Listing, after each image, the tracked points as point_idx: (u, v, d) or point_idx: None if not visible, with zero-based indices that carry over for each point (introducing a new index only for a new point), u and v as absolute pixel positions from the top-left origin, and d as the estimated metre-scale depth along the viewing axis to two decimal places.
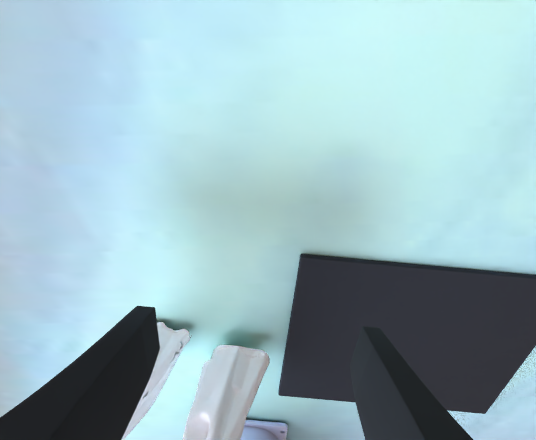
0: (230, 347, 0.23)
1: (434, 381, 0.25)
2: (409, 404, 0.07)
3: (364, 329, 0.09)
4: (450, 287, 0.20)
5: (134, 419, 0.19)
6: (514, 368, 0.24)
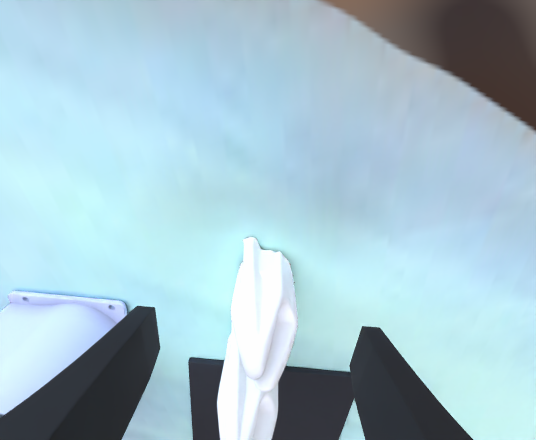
0: None
1: None
2: (409, 404, 0.07)
3: (364, 329, 0.09)
4: None
5: None
6: None
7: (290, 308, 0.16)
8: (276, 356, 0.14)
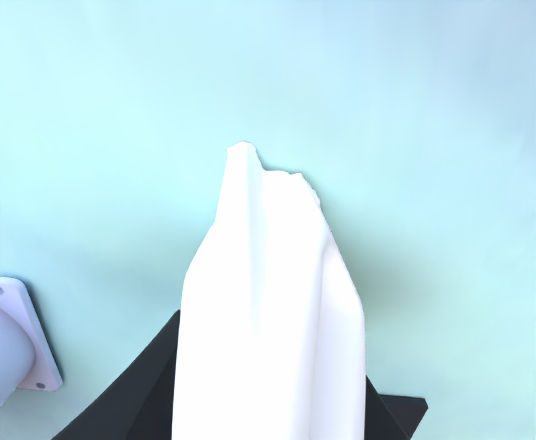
0: None
1: None
2: None
3: None
4: None
5: None
6: None
7: (343, 268, 0.06)
8: (325, 425, 0.04)
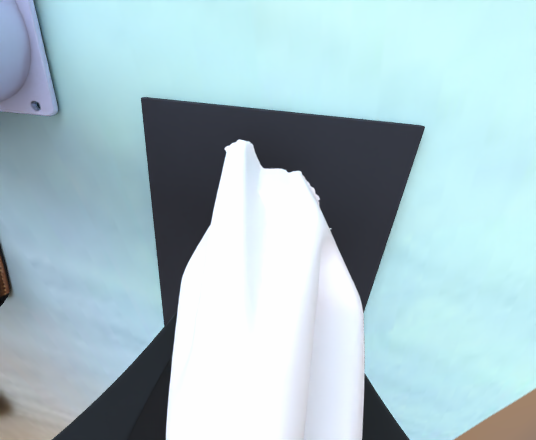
0: None
1: None
2: None
3: None
4: (354, 281, 0.21)
5: None
6: None
7: (342, 265, 0.06)
8: (323, 421, 0.04)
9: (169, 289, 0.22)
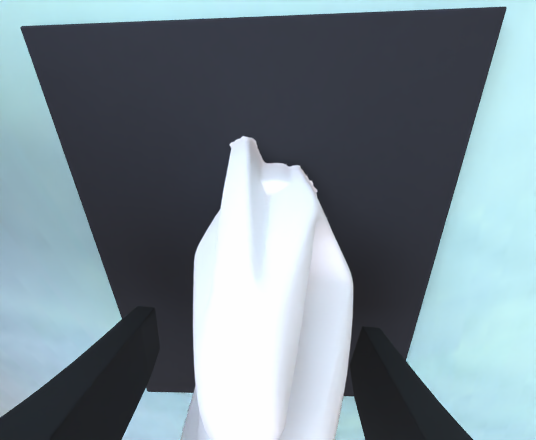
0: None
1: None
2: (409, 404, 0.07)
3: (364, 329, 0.09)
4: (398, 286, 0.14)
5: None
6: None
7: (334, 243, 0.07)
8: (314, 357, 0.04)
9: None
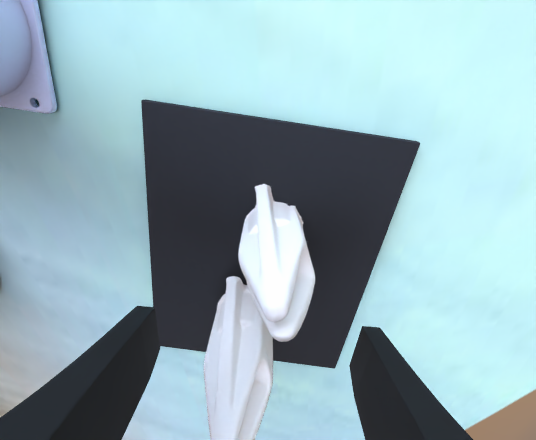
0: None
1: (204, 296, 0.22)
2: (409, 404, 0.07)
3: (364, 329, 0.09)
4: (345, 289, 0.21)
5: None
6: None
7: (309, 259, 0.14)
8: (295, 304, 0.11)
9: (161, 290, 0.22)
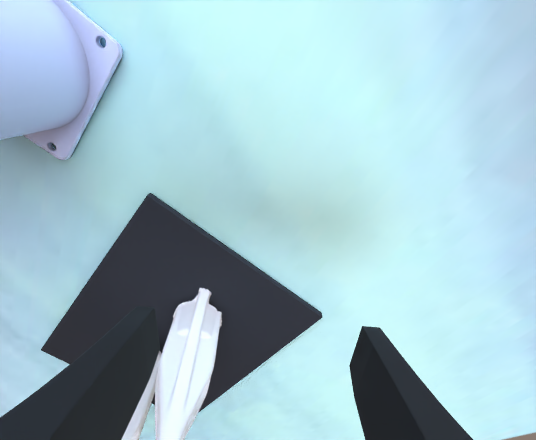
0: None
1: None
2: (409, 404, 0.07)
3: (364, 329, 0.09)
4: (226, 375, 0.26)
5: None
6: None
7: (209, 379, 0.18)
8: None
9: (75, 316, 0.23)
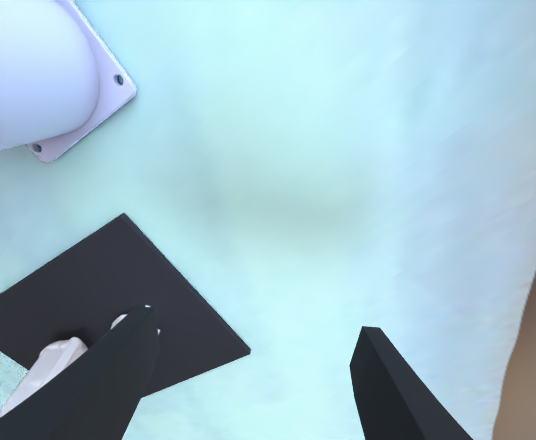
0: None
1: (41, 325, 0.24)
2: (409, 404, 0.07)
3: (364, 329, 0.09)
4: None
5: None
6: (25, 365, 0.27)
7: None
8: None
9: (8, 300, 0.23)
